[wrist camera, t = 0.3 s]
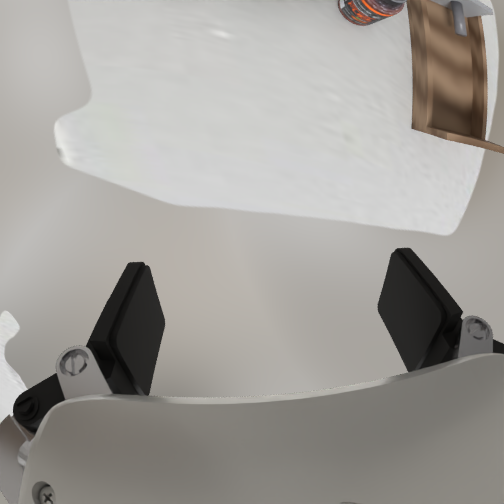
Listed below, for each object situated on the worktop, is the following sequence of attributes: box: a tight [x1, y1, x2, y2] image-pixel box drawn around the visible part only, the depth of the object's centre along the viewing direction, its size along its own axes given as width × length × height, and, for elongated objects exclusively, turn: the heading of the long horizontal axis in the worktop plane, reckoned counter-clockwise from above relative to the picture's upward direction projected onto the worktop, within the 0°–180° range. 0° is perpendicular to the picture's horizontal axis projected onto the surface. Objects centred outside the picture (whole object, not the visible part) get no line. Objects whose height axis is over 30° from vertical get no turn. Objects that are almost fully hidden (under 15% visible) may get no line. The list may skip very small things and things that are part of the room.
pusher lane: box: [407, 0, 504, 154], centre depth 24 cm, size 26×14×9 cm, turn 3°
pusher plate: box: [431, 0, 493, 37], centre depth 20 cm, size 7×11×7 cm, turn 93°
